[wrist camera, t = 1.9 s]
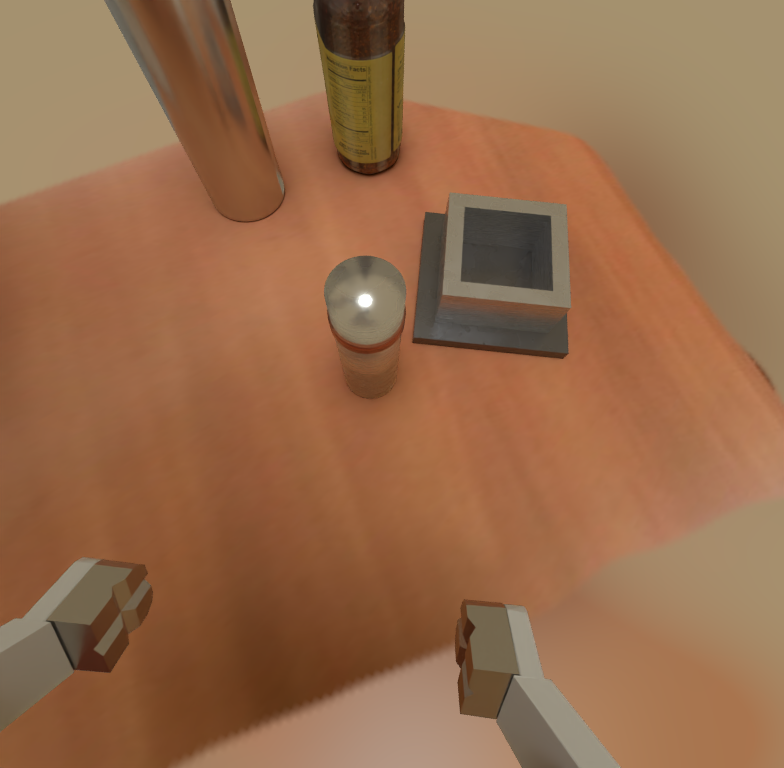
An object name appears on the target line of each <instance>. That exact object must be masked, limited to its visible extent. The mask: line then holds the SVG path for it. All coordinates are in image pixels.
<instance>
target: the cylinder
mask: <svg viewBox="0 0 784 768" xmlns="http://www.w3.org/2000/svg"><path fill="white" fill-rule="evenodd" d="M324 296H325V301H326V305H327V314H328V320H329V324H330V328H331V331H332V333H333V335H334V337H335V340H336V344H337V348H338V352H339V356H340V360H341V364H342V368H343V372H344V376H345V380H346V383H347V385H348V387H349V388H350V390H351V391H352V392H353V393H355V394H356V395H358V396H360V397H363V398H367V399H374V398H379V397H381V396H383V395H385V394H387V393H388V392H389V391H390V390H391V389H392V387H393V386H394V384H395V381H396V377H397V368H398V359H399V351H400V342H401V333H402V331H403V328H404V323H405V315H406V308H405V299H406V285H405V282H404V279H403V277H402V275H401V273H400V272H399V271H398V270H397V269H396V268H395V267H394V266H393V265H392V264H391V263H389V262H387V261H385V260H383V259H381V258H377V257H373V256H358V257H353V258H350V259H348V260H345V261H343V262H342V263H340V264H339V265H337V266H336V267H335V268H334V269H333V270H332V272H331V273H330V274H329V276H328V278H327V280H326V283H325V288H324Z"/></svg>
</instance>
